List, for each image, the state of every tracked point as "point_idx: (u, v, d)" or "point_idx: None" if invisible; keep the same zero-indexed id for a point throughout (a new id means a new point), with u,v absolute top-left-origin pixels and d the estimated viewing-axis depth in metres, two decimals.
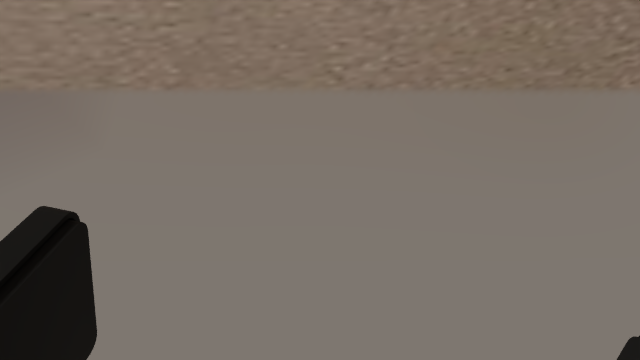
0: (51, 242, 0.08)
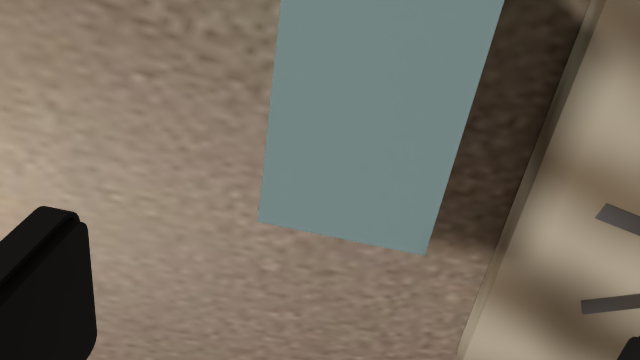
0: (51, 242, 0.08)
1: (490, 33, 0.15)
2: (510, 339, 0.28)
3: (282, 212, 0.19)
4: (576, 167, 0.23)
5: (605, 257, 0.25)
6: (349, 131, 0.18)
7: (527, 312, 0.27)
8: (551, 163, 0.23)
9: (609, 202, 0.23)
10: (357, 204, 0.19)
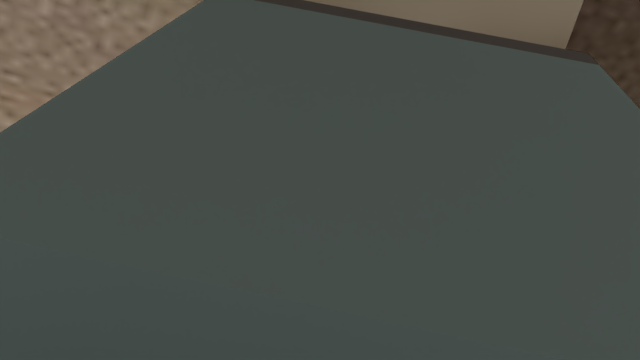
0: None
1: None
2: None
3: None
4: None
5: None
6: None
7: None
8: None
9: None
10: None
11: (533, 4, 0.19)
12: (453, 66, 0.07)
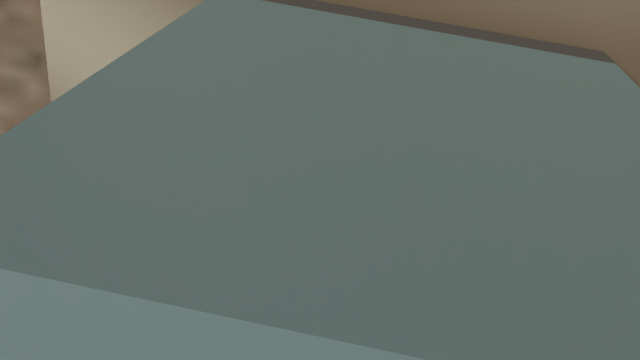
0: None
1: None
2: None
3: None
4: None
5: None
6: None
7: None
8: None
9: None
10: None
11: None
12: (465, 67, 0.07)
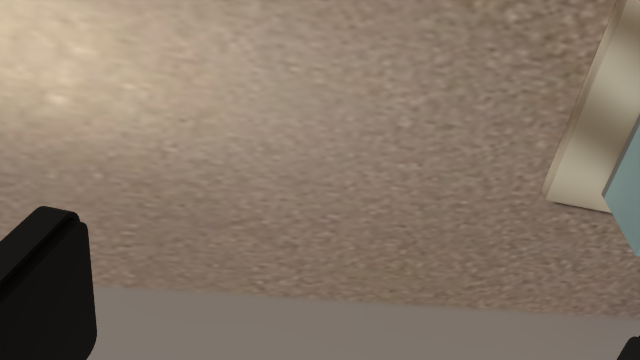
0: (51, 242, 0.08)
1: None
2: (586, 169, 0.38)
3: None
4: None
5: None
6: None
7: (600, 145, 0.37)
8: (625, 22, 0.33)
9: None
10: None
11: None
12: None
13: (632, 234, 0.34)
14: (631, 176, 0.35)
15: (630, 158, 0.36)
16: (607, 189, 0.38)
